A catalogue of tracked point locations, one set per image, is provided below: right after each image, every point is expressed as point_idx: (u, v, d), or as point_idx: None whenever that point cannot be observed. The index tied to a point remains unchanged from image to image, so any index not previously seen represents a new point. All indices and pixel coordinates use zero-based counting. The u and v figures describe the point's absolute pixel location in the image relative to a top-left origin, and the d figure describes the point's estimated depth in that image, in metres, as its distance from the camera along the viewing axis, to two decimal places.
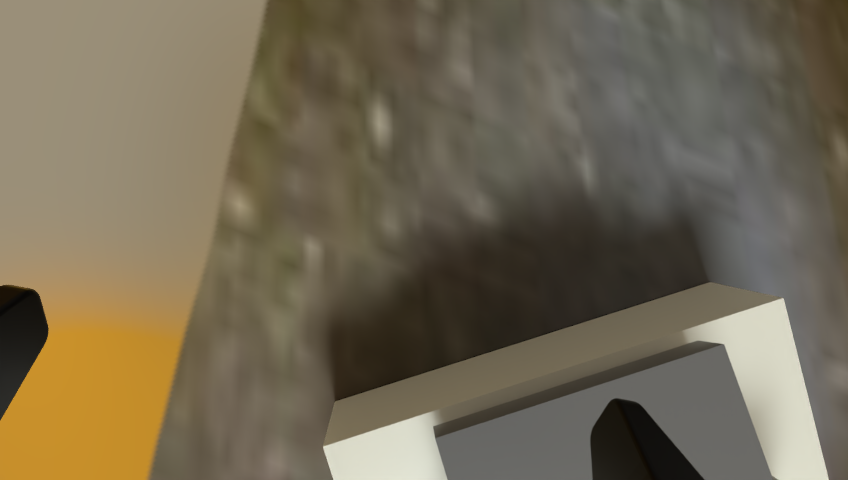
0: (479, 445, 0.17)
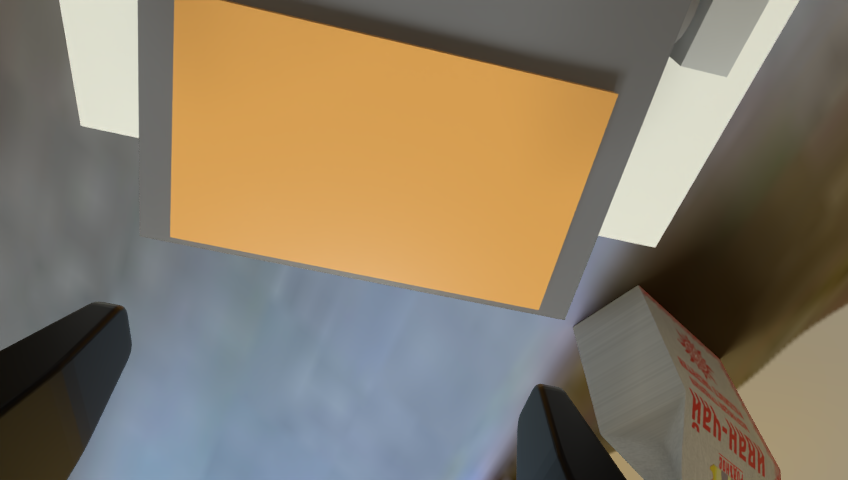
0: None
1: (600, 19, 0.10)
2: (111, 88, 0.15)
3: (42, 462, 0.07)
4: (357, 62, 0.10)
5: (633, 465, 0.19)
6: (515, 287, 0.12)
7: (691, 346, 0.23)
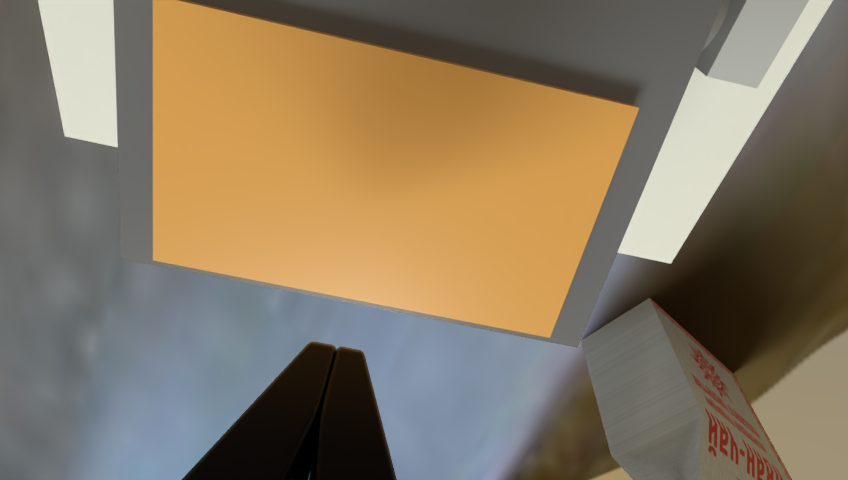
0: None
1: (620, 26, 0.09)
2: (96, 97, 0.14)
3: None
4: (353, 73, 0.09)
5: None
6: (525, 314, 0.11)
7: (705, 361, 0.23)
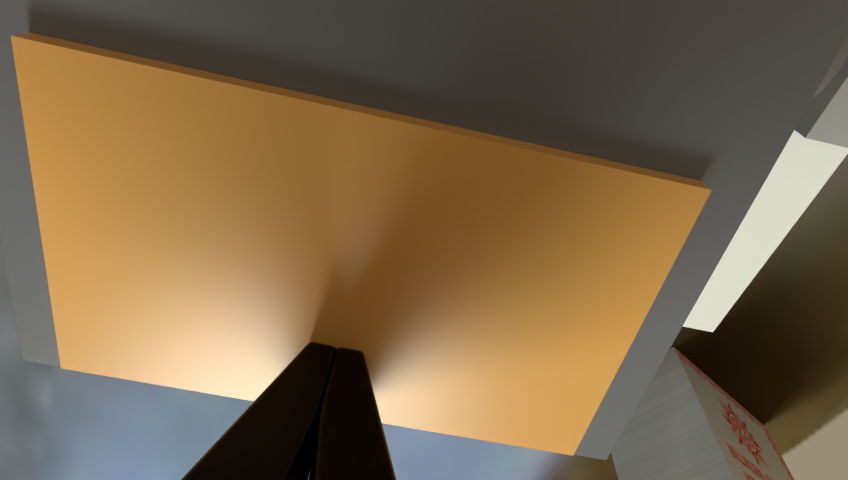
0: None
1: (691, 77, 0.06)
2: None
3: None
4: (309, 144, 0.06)
5: None
6: (542, 429, 0.09)
7: (736, 419, 0.20)
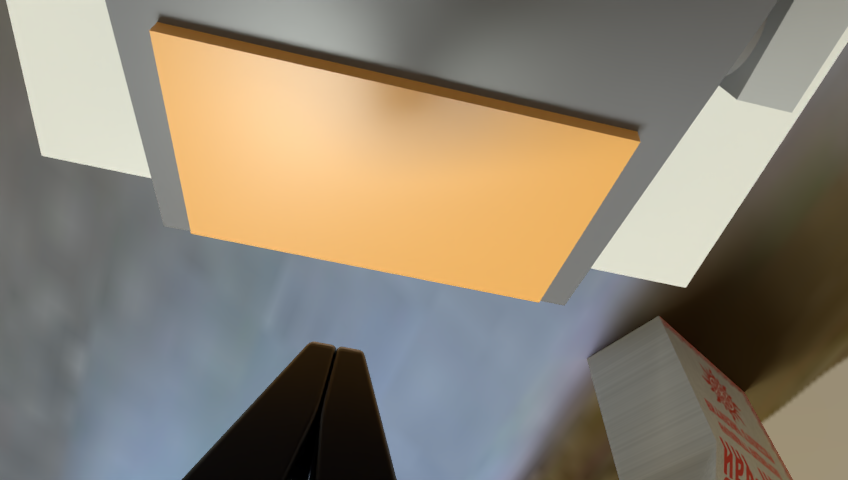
0: None
1: (631, 62, 0.08)
2: (74, 115, 0.13)
3: None
4: (354, 103, 0.09)
5: None
6: (517, 285, 0.12)
7: (716, 382, 0.22)
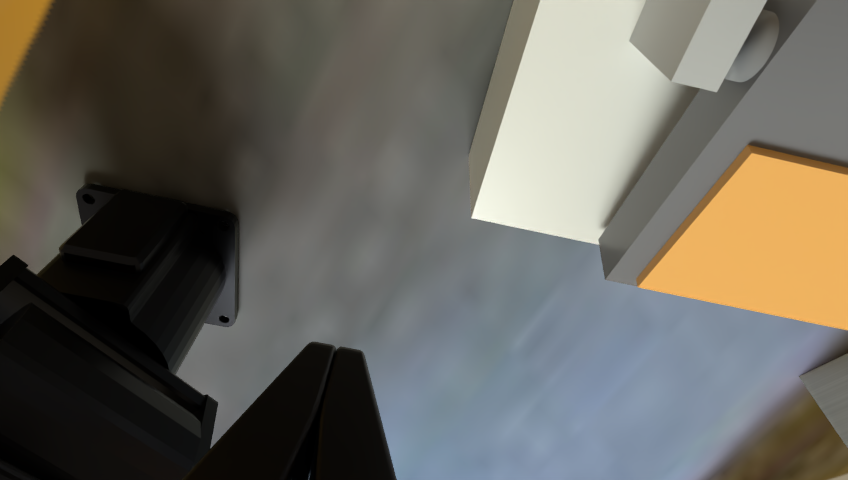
0: None
1: None
2: (516, 187, 0.16)
3: None
4: None
5: None
6: None
7: None
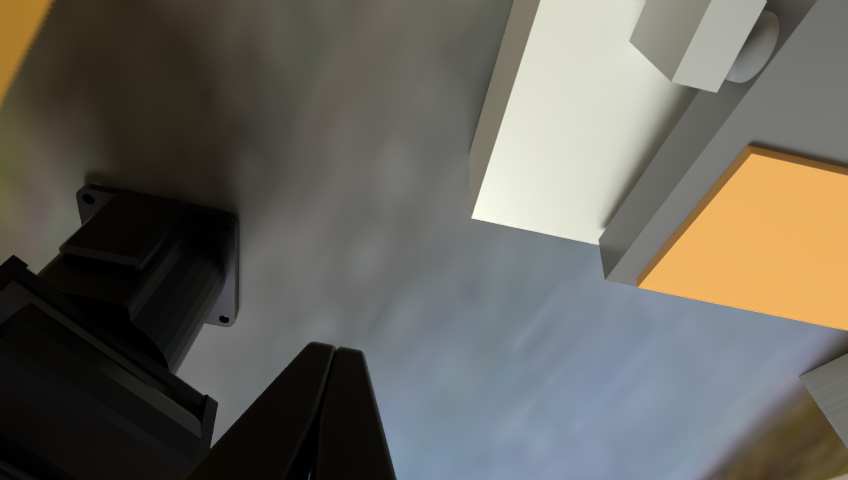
0: None
1: None
2: (516, 187, 0.16)
3: None
4: None
5: None
6: None
7: None
